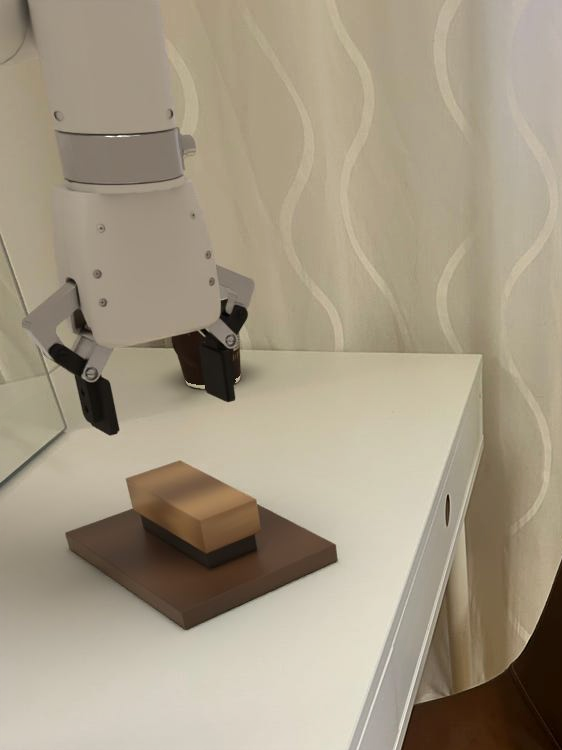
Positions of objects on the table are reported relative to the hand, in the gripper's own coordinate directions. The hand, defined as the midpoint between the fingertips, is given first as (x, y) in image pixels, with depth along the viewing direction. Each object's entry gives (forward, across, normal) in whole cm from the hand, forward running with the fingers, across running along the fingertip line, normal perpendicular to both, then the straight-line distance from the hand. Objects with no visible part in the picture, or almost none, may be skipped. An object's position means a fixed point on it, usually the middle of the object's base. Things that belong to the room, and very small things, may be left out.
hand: (165, 412), depth 73 cm
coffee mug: (+12, -24, -35) cm, 44 cm away
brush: (+10, -1, +1) cm, 11 cm away
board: (+12, -1, +1) cm, 12 cm away
